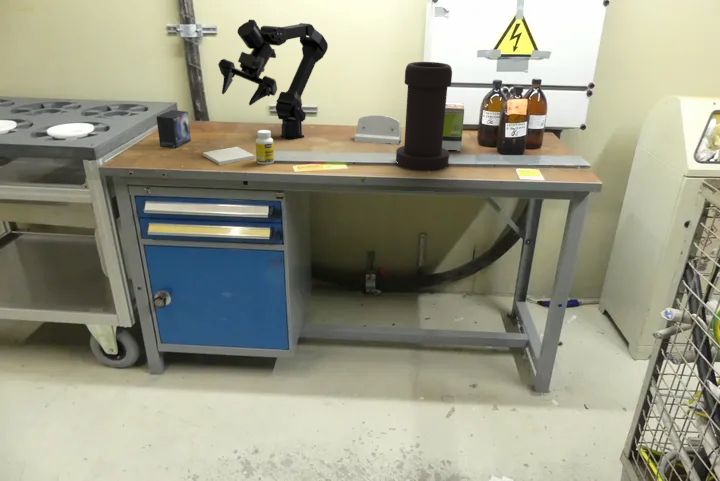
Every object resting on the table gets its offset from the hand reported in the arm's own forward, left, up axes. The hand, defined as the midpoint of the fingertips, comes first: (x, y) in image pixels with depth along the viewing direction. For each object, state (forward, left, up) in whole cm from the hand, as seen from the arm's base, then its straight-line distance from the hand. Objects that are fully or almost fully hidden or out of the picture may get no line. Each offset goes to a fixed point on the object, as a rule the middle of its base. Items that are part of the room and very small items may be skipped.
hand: (236, 99), depth 165 cm
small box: (+12, -24, -18) cm, 32 cm away
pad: (+4, 0, -18) cm, 18 cm away
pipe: (-43, +40, -18) cm, 61 cm away
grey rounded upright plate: (-49, +11, -18) cm, 54 cm away
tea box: (-61, +30, -18) cm, 70 cm away
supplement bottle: (-3, +12, -18) cm, 22 cm away
